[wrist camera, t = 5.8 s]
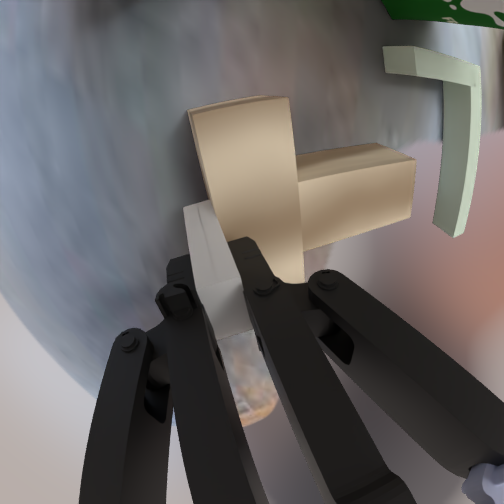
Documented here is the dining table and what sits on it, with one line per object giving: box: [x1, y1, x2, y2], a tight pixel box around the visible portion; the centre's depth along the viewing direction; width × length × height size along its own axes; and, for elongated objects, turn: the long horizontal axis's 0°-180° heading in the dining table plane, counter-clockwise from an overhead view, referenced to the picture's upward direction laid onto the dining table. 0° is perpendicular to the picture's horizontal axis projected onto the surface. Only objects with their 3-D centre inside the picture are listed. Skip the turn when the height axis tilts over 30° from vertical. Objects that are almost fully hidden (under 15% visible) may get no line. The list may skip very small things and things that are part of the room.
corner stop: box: [382, 46, 481, 238], centre depth 17 cm, size 16×9×3 cm, turn 10°
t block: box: [187, 95, 416, 284], centre depth 15 cm, size 12×12×4 cm
